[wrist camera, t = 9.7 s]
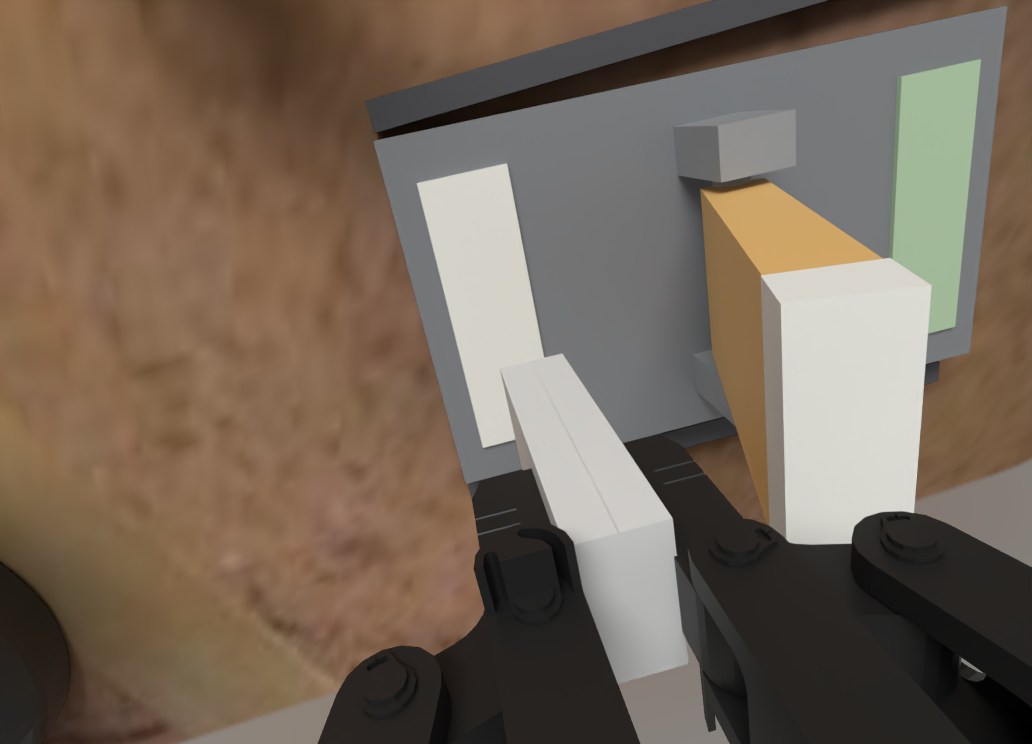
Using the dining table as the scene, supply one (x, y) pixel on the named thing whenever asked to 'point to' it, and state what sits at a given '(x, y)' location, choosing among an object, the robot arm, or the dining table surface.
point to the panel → (683, 215)
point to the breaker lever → (814, 360)
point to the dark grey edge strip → (719, 427)
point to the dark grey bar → (571, 59)
